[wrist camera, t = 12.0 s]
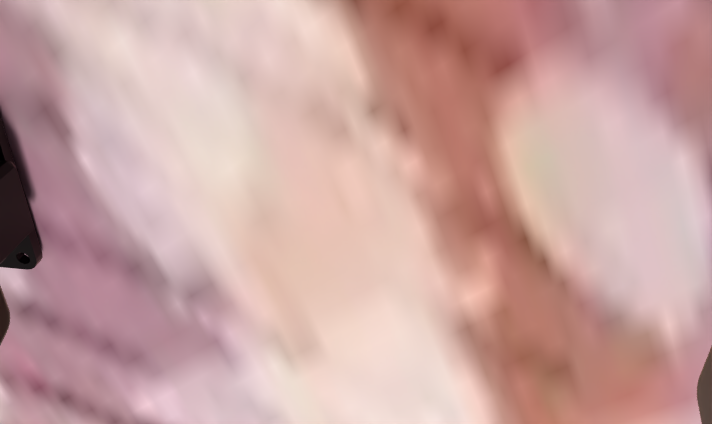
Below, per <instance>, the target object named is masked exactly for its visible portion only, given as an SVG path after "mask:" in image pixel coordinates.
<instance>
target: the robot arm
mask: <svg viewBox="0 0 712 424" xmlns="http://www.w3.org/2000/svg"><path fill="white" fill-rule="evenodd" d="M24 253H25V254H26V255H28V256H29V257H28V256H26V255H25V254H24ZM41 259H42V251H41V248H40V244H39V241H38V238H37V235H36V231H35V228H34V224H33V221H32V217H31V214H30V211H29V207H28V204H27V201H26V198H25V194H24V191H23V188H22V185H21V181H20V178H19V175H18V171H17V169H16V166H15V163H14V159H13V156H12V153H11V150H10V146H9V143H8V140H7V137H6V133H5V130H4V127H3V123H2V120H1V117H0V267H7V268H18V269H32V268H34V267H35V266H36V265H37V264H38V263H39V262H40V261H41ZM9 323H10V312H9V308H8V305H7V303H6V300H5V297H4V294H3V291H2V289H1V286H0V345H1V343H2V341H3V339H4V337H5V335H6V333H7V330H8V327H9ZM697 400H698V406H699V411H700V416H701V422H702V424H712V347H711V349H710V352H709V354H708V357H707V359H706V362H705V364H704V367H703V369H702V372H701V374H700V377H699V380H698V385H697Z"/></svg>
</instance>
